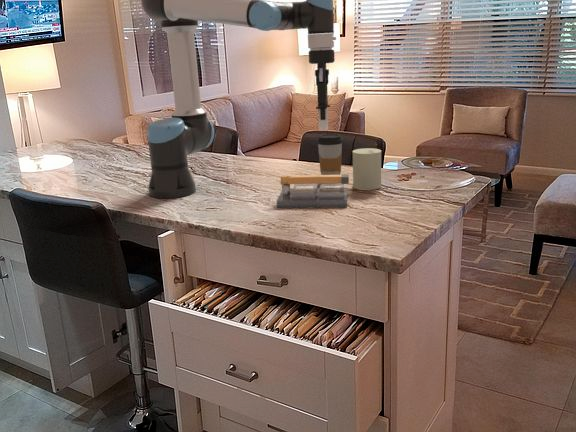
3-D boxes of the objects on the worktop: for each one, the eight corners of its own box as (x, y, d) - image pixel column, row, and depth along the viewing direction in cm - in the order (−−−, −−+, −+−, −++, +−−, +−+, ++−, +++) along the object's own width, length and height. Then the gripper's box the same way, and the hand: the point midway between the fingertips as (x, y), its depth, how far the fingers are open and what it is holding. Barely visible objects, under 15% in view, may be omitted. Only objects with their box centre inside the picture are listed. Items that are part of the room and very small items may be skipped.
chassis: (277, 207, 170) (276, 190, 169) (283, 194, 184) (282, 178, 182) (346, 206, 168) (346, 189, 166) (347, 194, 181) (347, 177, 180)
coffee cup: (341, 183, 194) (340, 138, 190) (316, 183, 196) (315, 138, 191) (344, 177, 202) (343, 133, 198) (320, 177, 204) (319, 134, 199)
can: (363, 191, 183) (363, 153, 179) (347, 185, 191) (346, 149, 187) (387, 187, 187) (387, 149, 183) (370, 181, 195) (370, 145, 191)
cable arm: (280, 184, 173) (279, 178, 173) (281, 181, 177) (281, 175, 177) (348, 183, 171) (348, 177, 170) (348, 180, 175) (348, 173, 174)
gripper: (333, 49, 165) (335, 133, 172) (335, 47, 179) (336, 125, 185) (306, 50, 166) (309, 134, 173) (310, 49, 179) (313, 126, 186)
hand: (323, 129), depth 179 cm, fingers closed
